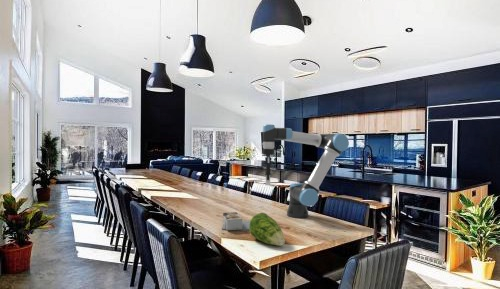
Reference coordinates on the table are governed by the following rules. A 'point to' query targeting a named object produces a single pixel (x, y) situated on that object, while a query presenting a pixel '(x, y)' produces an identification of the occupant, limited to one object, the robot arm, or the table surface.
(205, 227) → the table surface
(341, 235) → the table surface
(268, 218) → the lettuce
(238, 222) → the coffee box
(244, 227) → the mat
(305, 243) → the table surface
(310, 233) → the table surface
